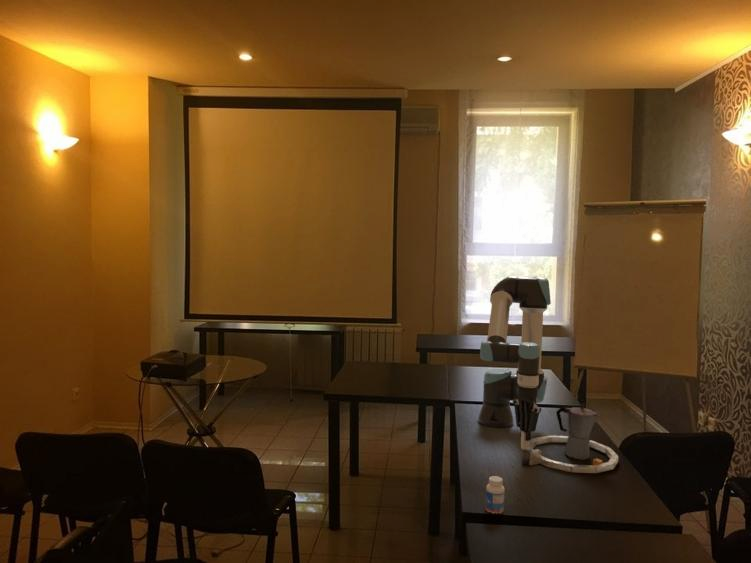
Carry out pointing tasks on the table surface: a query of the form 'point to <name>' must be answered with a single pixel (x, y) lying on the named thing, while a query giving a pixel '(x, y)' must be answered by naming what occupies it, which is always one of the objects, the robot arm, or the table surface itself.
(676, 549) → the table surface
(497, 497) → the pill bottle
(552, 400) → the table surface
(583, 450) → the moka pot
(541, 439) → the indicator ring
